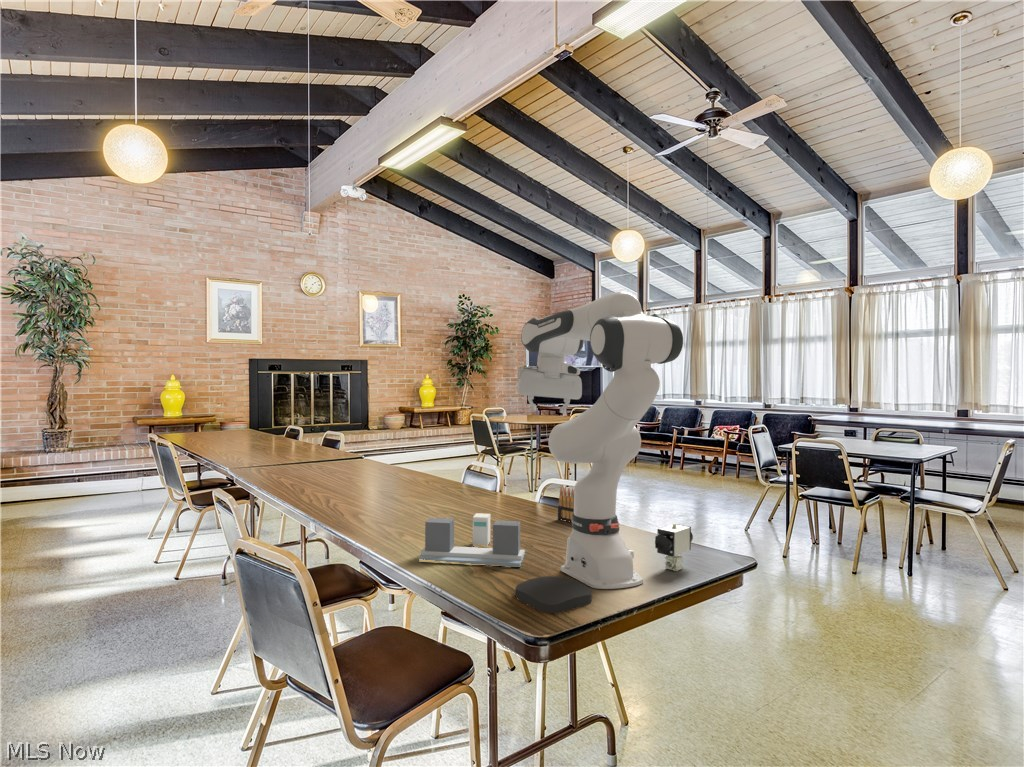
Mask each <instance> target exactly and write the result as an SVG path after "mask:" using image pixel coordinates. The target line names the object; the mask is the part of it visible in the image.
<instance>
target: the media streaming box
mask: <svg viewBox="0 0 1024 767" xmlns="http://www.w3.org/2000/svg"><path fill="white" fill-rule="evenodd" d="M514 593H515V596H516V597H515V596H514V597H515V598H516V599H517V598H518V599H519V601H520V600H521V601H520V602H522V603H523V602H524V604H525V603H526V604H525V605H527V604H528V605H527V606H529V605H530V606H529V607H531V608H533V607H534V608H533V609H535V610H537V611H539V612H541V611H542V613H545V612H550V613H549V614H559V613H558V612H561V613H564V612H567V610H568V611H570V610H574V608H575V609H577V607H578V608H580V607H583V606H586V604H587V605H589V604H591V602H592V600H593V594H592V593H593V592H592V589H591V587H590V588H589V587H588V585H586V584H585V583H583V582H581V581H579V580H575V579H574V578H573V579H572V578H569V577H564V576H553V575H552V576H551V575H550V576H539V577H534V578H530V579H527V580H525V581H522V582H520V583H519V584H517V585H516V586H515V592H514ZM518 599H517V600H518ZM563 611H564V612H563Z"/></svg>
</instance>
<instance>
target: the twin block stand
mask: <svg viewBox="0 0 1024 767" xmlns="http://www.w3.org/2000/svg"><path fill="white" fill-rule="evenodd" d="M424 524H425V525H424V526H425V529H424V530H425V531H424V532H425V533H424V548H423V549H422V550H421V551H420V555H419V556H418V558H417V560H418V559H423V560H424V559H425V560H435V561H446V562H459V563H471V564H485V565H499V566H511V567H520V566H521V567H522V564H523V561H524V559H523V558H525V556H526V550H525V549H521V521H520V520H519V521H515V520H495V521H494V523H492V547H488V548H478V547H473V546H455V518H445V517H444V518H441V517H440V518H439V517H429V518H428V519H427V520H426V521H425V523H424ZM524 555H525V556H524ZM522 560H523V561H522ZM521 563H522V564H521ZM511 567H510V568H511ZM521 567H520V568H521Z"/></svg>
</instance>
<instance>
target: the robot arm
mask: <svg viewBox="0 0 1024 767" xmlns="http://www.w3.org/2000/svg"><path fill="white" fill-rule="evenodd" d="M521 330H522V331H521V343H522V345H523V346H524V348H525V349H526V350H527V351H528V353H536V354H537V353H538V355H537V362H536V364H537V365H526V364H524V365H523V366H521V367H519V368H518V370H517V378H518V380H517V381H518V382H517V386H516V394H518V395H519V396H520V395H521V396H527V400H528V403H529V405H530V411H531V412H537V405H536V404H535V403H534V402H533V400H534V399H535V398H534V397H543V398H554V399H563V402H564V404H563V405H562V407H559V413H560V414H566V413H567V407H568V406H570V402H571V400H580V399H581V398H582V395H583V383H582V378H581V377H580V376H579V375H580V374H581V369H580V368H579V367H578V366H575V365H572V364H571V363H567V357H566V356H575V355H578V354H579V352H581V350H582V349H583V347H584V344H585V342H584V341H587V342H589V346H590V350H591V353H592V354H593V356H594V357H595V359H596V360H597V362H598V363H600V364H601V366H602V368H604V370H606V371H607V372H609V373H613V377H612V379H611V380H610V381H609V383H608V385H607V386H606V387H605V389H604V390H603V392H602V393H601V395H600V396H599V397H598V398H597V400H596V401H595V403H594V404H592V406H590V407H589V408H588V409H586V410H584V411H583V412H581V413H580V414H578V415H576V416H575V417H573V418H572V419H569V420H567V421H565V422H562V423H559V424H557V425H555V426H554V427H553V428H552V429H551V431H550V433H549V436H548V443H547V444H548V448H549V452H550V453H551V455H552V457H553V458H554V459H555V460H556V461H557V462H562V463H567V464H592V466H591V467H590V470H589V471H588V473H586V474H585V475H584V476H582V477H581V478H579V479H578V480H577V481H576V483H575V485H574V488H573V490H574V513H573V514H572V523H571V527H572V531H571V533H570V535H568V537H567V540H566V541H567V542H566V550H565V551H566V552H565V563H564V564H563V565H561V566H560V571H561V572H562V573H564V574H566V575H568V576H570V577H572V578H573V579H574V580H575V579H576V581H578V582H580V583H582V584H584V585H585V586H587V587H588V586H589V587H590V588H593V589H599V590H601V589H602V590H615V589H617V590H618V589H624V588H630V587H636V586H639V585H641V584H643V583H644V579H643V577H642V576H641V575H640V574H639V573H638V572H637V571H636V570H635V569H634V558H635V557H634V556H635V553H634V550H633V549H628V546H627V544H626V542H625V541H624V539H623V538H622V535H621V534H620V528H621V527H620V523H619V519H618V516H617V514H616V511H617V506H616V505H617V493H618V492H617V491H618V485H619V481H620V478H621V476H622V475H623V472H624V470H625V469H626V467H627V466H628V464H629V463H630V462H631V461H632V460H633V459H634V458H636V457H637V456H638V454H639V452H640V450H641V446H642V437H641V433H640V431H639V430H638V428H637V427H636V425H637V424H638V423H639V422H640V421H641V420H642V418H643V417H644V416H645V414H646V413H647V412H648V410H649V409H650V408H651V406H652V405H653V403H654V401H655V399H656V397H657V394H658V392H659V390H660V387H661V386H660V385H661V381H660V378H659V375H658V373H657V371H655V369H653V367H652V364H659V365H661V364H666V363H670V362H673V361H675V360H676V359H677V358H678V357H679V356H680V354H681V353H682V350H683V346H684V334H683V332H682V330H681V328H680V326H679V325H678V324H677V323H676V322H675V321H673V320H671V319H668V318H665V317H662V316H660V315H658V314H656V313H654V314H652V315H650V316H649V315H646V314H644V313H643V310H642V306H641V302H640V301H639V299H638V298H637V297H636V296H635V295H634V294H633V293H630V292H628V291H616V292H611V293H609V294H605V295H603V296H601V297H598V298H597V299H594V300H593V301H591V302H588V303H585V304H583V305H579V306H578V307H574V308H571V309H568V310H567V309H566V310H565V311H560V312H557V313H554V314H549V315H546V316H544V317H543V318H542V319H540V318H537V317H532V318H531V319H529V320H528V321H527V322H526V323H525V324H524V325H523V327H522V329H521Z"/></svg>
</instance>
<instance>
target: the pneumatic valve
mask: <svg viewBox="0 0 1024 767" xmlns="http://www.w3.org/2000/svg"><path fill="white" fill-rule="evenodd" d="M654 538H655V541H654V545H655V547H654V548H655V549H657V550H656V551H657V554H661V555H665V556H664V558H665V562H664V565H665V566H664V568H665V569H666V570H671V571H674V572H675V571H676V572H678V571H681V570H683V569H684V566H683V563H684V557H683V555H682V554H683V553H686V552H688V551H691V549H692V545H691V544H692V542H693V539H694V536H693V532H692V526H687V525H684V524H680V523H672V524H669V525H668V526H667V525H664V526H661V527H660V528H657V535H656V536H655V537H654Z"/></svg>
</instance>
